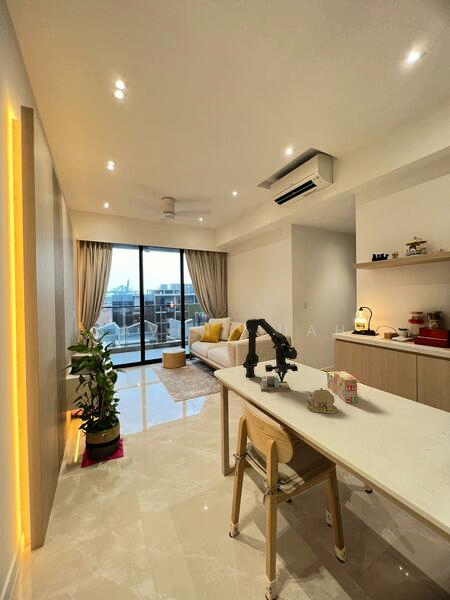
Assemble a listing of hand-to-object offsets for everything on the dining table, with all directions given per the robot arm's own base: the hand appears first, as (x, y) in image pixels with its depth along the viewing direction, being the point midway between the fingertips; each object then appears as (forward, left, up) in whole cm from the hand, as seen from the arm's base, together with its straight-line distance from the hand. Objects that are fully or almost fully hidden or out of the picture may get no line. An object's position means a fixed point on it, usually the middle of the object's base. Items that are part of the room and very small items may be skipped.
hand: (281, 382), depth 150 cm
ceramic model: (+28, +15, -4) cm, 32 cm away
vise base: (0, -4, -3) cm, 5 cm away
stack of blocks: (+11, +31, -4) cm, 33 cm away
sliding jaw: (0, -3, -2) cm, 4 cm away
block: (0, -7, -2) cm, 7 cm away
